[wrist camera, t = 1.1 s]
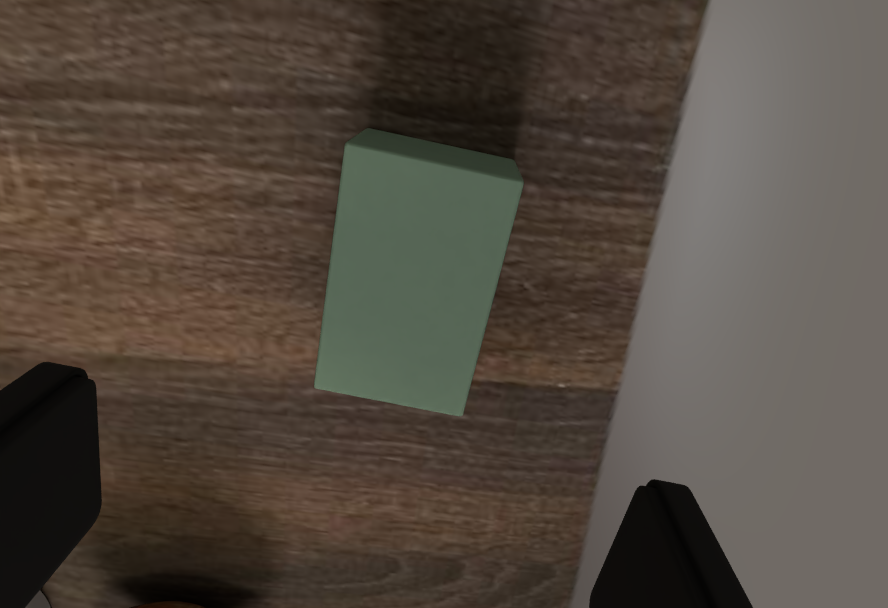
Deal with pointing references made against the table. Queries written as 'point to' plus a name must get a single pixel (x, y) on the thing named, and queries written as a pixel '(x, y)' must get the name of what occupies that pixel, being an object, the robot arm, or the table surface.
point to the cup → (38, 601)
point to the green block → (413, 269)
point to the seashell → (169, 605)
